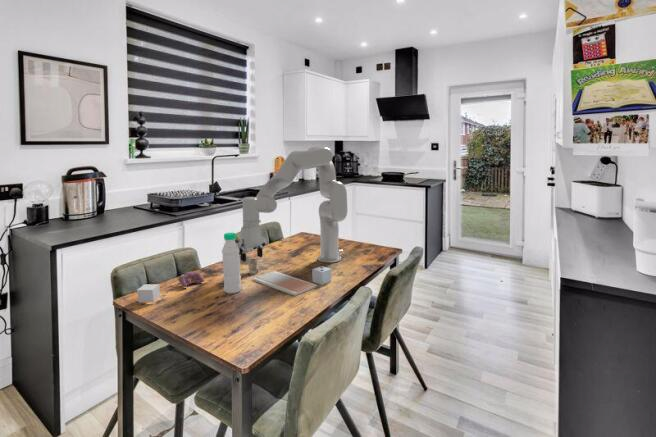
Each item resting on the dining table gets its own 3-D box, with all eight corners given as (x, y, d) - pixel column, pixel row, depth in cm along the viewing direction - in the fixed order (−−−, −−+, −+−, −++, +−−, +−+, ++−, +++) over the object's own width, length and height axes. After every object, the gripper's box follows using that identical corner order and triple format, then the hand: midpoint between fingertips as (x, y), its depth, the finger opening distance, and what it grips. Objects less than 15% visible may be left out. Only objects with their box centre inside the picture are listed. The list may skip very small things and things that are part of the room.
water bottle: (224, 294, 160) (220, 236, 155) (224, 288, 167) (220, 232, 162) (241, 293, 162) (239, 234, 157) (240, 286, 169) (238, 230, 164)
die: (321, 278, 179) (321, 265, 178) (331, 281, 175) (331, 268, 174) (312, 281, 175) (312, 268, 174) (322, 285, 171) (322, 271, 170)
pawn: (254, 270, 190) (253, 256, 188) (260, 272, 187) (259, 258, 185) (247, 273, 186) (246, 259, 185) (252, 275, 183) (252, 260, 182)
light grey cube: (160, 298, 157) (159, 284, 156) (154, 304, 151) (152, 289, 150) (145, 298, 157) (144, 284, 156) (138, 304, 151) (137, 289, 150)
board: (274, 272, 186) (274, 270, 186) (316, 286, 168) (316, 284, 168) (252, 280, 177) (252, 277, 176) (295, 295, 159) (295, 293, 159)
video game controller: (200, 284, 176) (195, 270, 176) (205, 282, 173) (200, 267, 173) (180, 291, 168) (175, 276, 169) (185, 289, 165) (180, 273, 166)
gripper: (260, 220, 190) (261, 253, 194) (230, 225, 178) (231, 261, 181) (270, 222, 186) (270, 256, 189) (240, 227, 173) (241, 264, 176)
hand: (251, 258), depth 185 cm, fingers open, 9 cm apart
